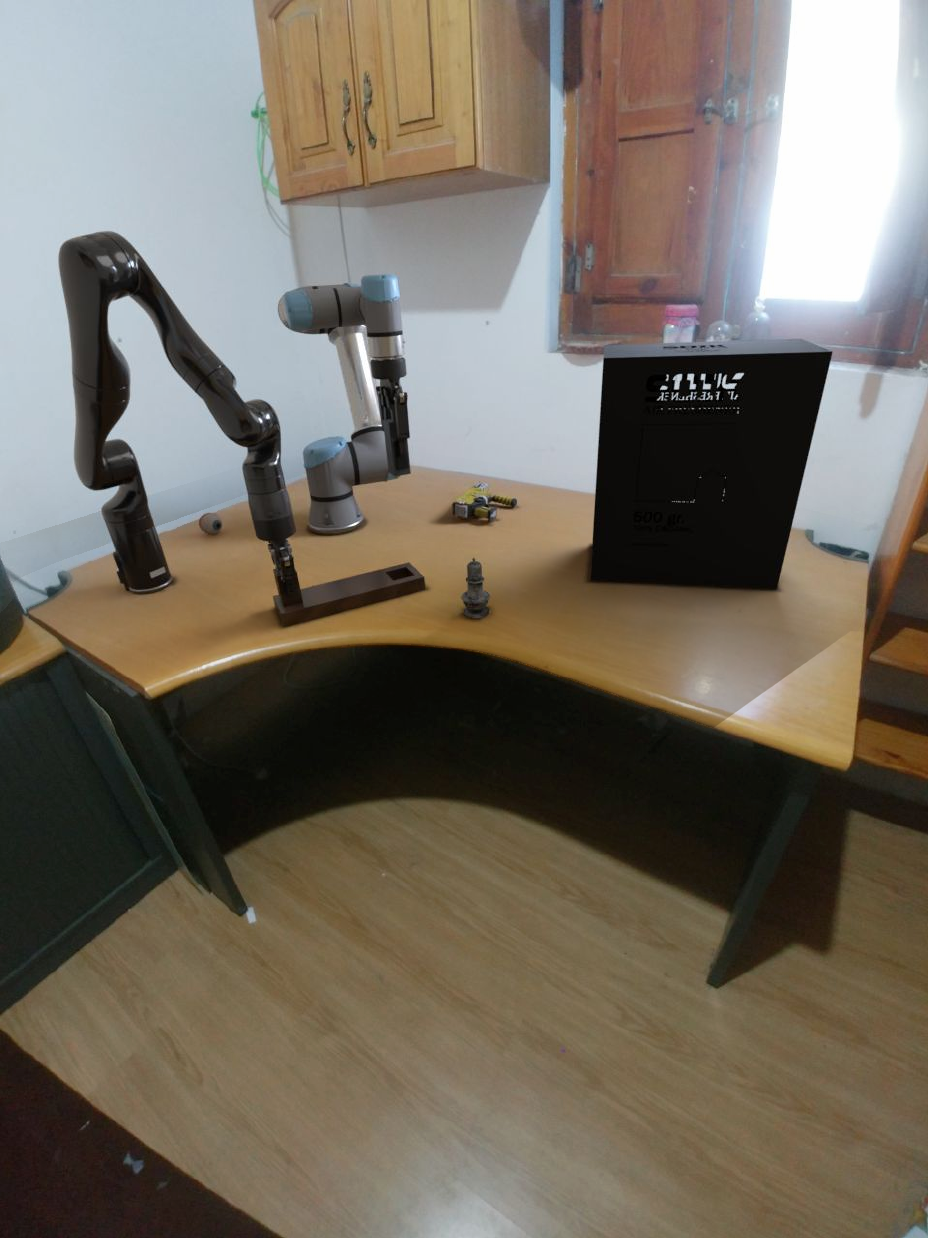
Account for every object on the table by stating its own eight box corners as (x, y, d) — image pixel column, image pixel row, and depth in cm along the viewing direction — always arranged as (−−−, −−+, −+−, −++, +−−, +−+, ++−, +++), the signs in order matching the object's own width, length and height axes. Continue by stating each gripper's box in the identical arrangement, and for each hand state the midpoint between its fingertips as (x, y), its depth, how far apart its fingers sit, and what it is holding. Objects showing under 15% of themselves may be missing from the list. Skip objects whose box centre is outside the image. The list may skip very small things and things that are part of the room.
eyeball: (212, 539, 164) (206, 518, 161) (197, 535, 167) (191, 515, 164) (230, 531, 169) (224, 511, 166) (215, 528, 172) (210, 508, 169)
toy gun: (525, 486, 181) (478, 479, 184) (503, 510, 160) (450, 501, 164) (523, 501, 183) (477, 494, 187) (501, 526, 163) (450, 518, 167)
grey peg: (394, 476, 139) (388, 423, 132) (388, 472, 142) (382, 420, 136) (410, 473, 140) (405, 420, 134) (404, 469, 143) (399, 417, 137)
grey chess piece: (488, 619, 119) (486, 564, 113) (459, 618, 120) (455, 563, 114) (493, 605, 124) (491, 551, 118) (465, 604, 125) (462, 550, 119)
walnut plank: (284, 626, 121) (273, 582, 116) (275, 608, 128) (265, 565, 123) (425, 589, 132) (421, 547, 127) (410, 573, 140) (405, 533, 135)
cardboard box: (756, 549, 141) (800, 338, 118) (776, 589, 124) (832, 351, 101) (592, 544, 148) (604, 344, 126) (590, 580, 131) (603, 357, 109)
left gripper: (299, 518, 110) (316, 601, 119) (283, 497, 122) (299, 574, 130) (258, 527, 108) (277, 610, 116) (245, 505, 119) (264, 582, 128)
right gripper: (419, 359, 123) (428, 472, 135) (390, 352, 136) (400, 455, 148) (384, 363, 120) (397, 478, 132) (358, 355, 134) (371, 460, 145)
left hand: (289, 591), depth 123 cm, fingers closed on walnut plank, 4 cm apart
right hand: (399, 466), depth 140 cm, fingers closed on grey peg, 4 cm apart
